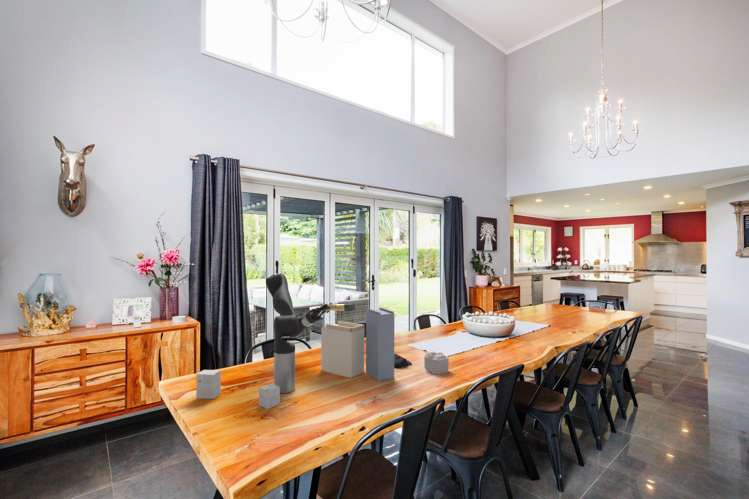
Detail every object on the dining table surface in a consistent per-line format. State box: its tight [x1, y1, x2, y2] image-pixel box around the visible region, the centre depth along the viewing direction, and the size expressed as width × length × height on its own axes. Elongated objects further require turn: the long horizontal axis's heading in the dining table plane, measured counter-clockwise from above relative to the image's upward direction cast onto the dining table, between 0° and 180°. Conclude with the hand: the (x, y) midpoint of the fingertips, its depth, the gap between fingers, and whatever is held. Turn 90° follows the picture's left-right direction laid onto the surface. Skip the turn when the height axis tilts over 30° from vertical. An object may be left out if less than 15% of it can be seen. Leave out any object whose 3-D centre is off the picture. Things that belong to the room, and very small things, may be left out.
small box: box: [195, 369, 222, 400], centre depth 151 cm, size 8×6×10 cm
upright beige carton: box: [320, 320, 365, 379], centre depth 184 cm, size 20×11×24 cm, turn 56°
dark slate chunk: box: [394, 353, 413, 370], centre depth 199 cm, size 15×22×5 cm
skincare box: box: [258, 383, 281, 410], centre depth 143 cm, size 6×6×7 cm
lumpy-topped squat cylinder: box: [423, 351, 450, 374], centre depth 187 cm, size 10×13×9 cm
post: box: [365, 307, 395, 382], centre depth 178 cm, size 14×9×33 cm, turn 26°
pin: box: [320, 303, 356, 312], centre depth 186 cm, size 22×5×3 cm, turn 52°
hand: (329, 304), depth 190 cm, fingers closed on pin, 3 cm apart
